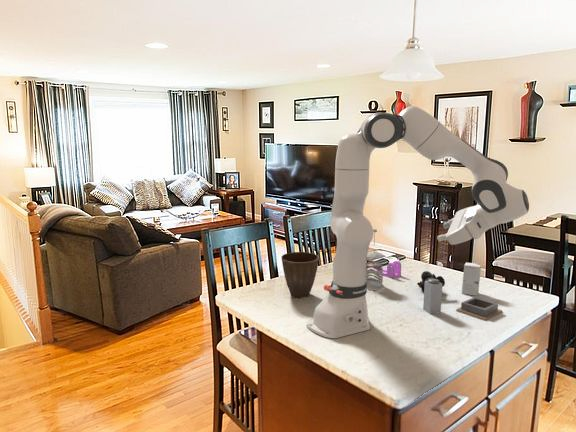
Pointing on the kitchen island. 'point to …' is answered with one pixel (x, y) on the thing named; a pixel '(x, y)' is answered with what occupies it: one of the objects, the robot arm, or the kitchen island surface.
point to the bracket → (392, 270)
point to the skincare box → (471, 278)
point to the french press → (372, 282)
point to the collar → (479, 308)
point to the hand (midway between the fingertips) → (441, 232)
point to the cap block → (432, 296)
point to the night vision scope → (428, 275)
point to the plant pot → (300, 272)
